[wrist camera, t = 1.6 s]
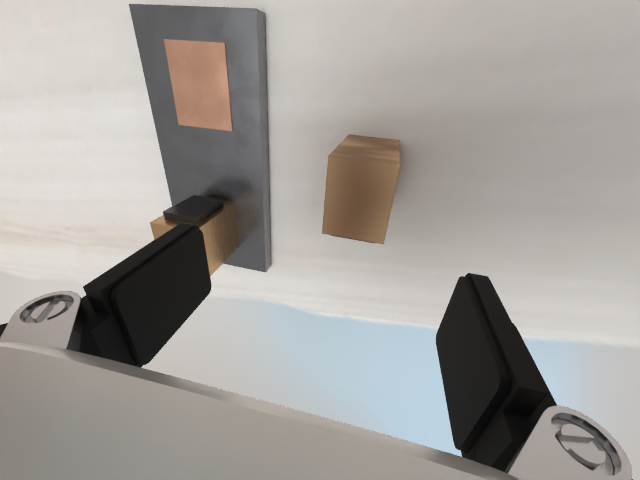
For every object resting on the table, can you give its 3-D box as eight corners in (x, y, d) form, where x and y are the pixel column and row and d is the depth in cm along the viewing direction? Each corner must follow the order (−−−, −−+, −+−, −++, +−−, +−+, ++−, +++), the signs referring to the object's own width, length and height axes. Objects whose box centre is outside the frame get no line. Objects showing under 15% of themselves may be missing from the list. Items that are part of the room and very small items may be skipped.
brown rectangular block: (399, 140, 22) (400, 165, 15) (385, 205, 25) (381, 252, 18) (349, 134, 22) (328, 156, 16) (341, 199, 25) (321, 241, 19)
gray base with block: (265, 13, 20) (203, -20, 14) (271, 264, 31) (238, 311, 25) (144, 8, 22) (39, -23, 15) (191, 248, 33) (141, 288, 26)
